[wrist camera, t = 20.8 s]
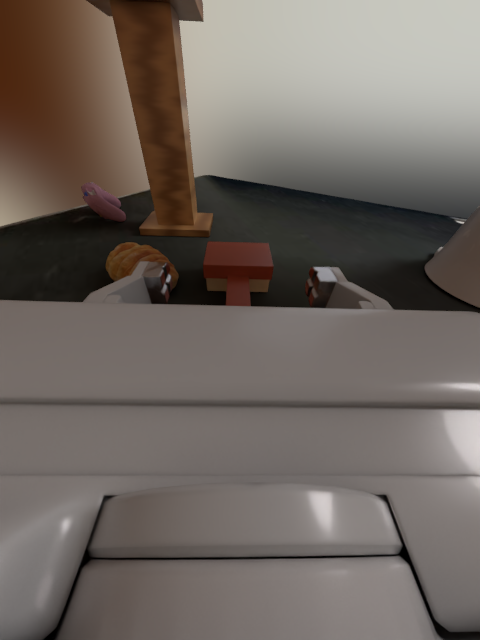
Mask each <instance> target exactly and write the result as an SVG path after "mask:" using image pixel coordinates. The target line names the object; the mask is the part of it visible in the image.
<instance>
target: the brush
mask: <svg viewBox="0 0 480 640" xmlns="http://www.w3.org/2000/svg"><path fill="white" fill-rule="evenodd" d="M203 271H204V278H206V282H207V291H227V292H226V306H251V302H250V292H268V286H269V280H271V279H272V273H273V262H272V258H271V254H270V249H269V245H268V243H238V242H208V244H207V249H206V253H205V258H204V263H203Z"/></svg>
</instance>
